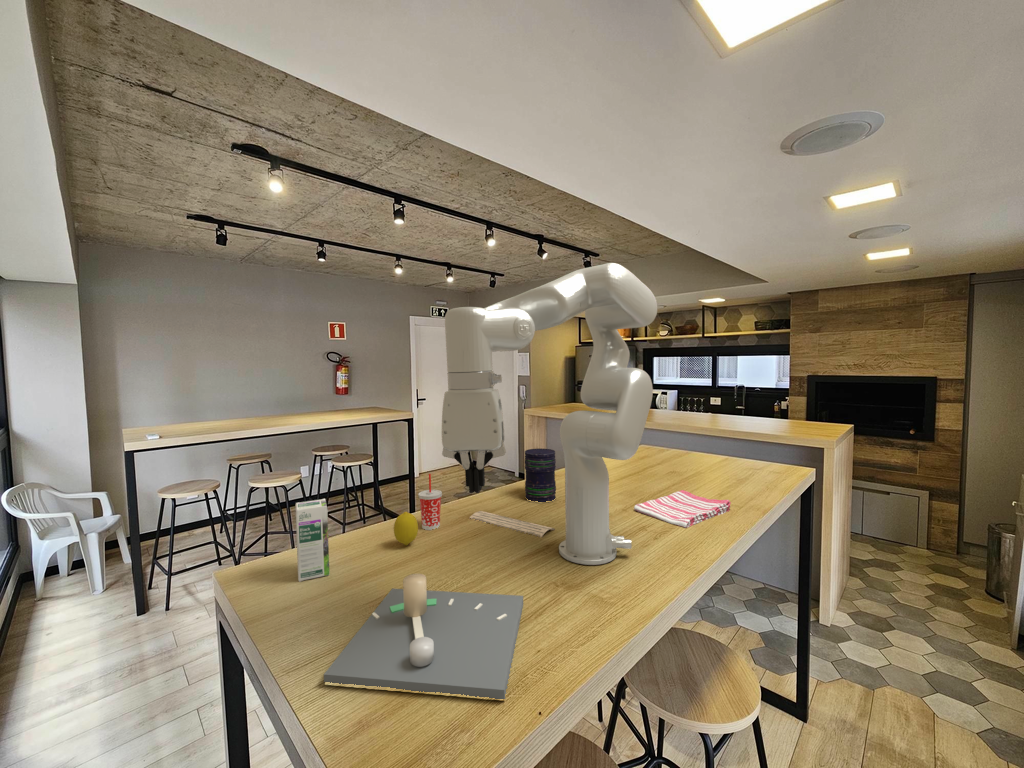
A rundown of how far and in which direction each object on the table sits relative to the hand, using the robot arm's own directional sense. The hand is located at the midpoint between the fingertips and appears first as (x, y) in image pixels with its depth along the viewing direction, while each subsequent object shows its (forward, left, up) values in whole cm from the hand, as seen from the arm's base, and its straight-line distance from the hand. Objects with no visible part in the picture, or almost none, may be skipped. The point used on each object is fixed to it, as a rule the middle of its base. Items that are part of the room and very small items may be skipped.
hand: (475, 490), depth 72 cm
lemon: (+22, -25, -21) cm, 39 cm away
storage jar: (-7, -64, -21) cm, 67 cm away
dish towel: (-48, -56, -22) cm, 76 cm away
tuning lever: (+7, +10, -19) cm, 22 cm away
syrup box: (+36, -10, -21) cm, 43 cm away
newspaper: (0, -41, -22) cm, 46 cm away
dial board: (+4, +8, -21) cm, 23 cm away
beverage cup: (+20, -37, -21) cm, 47 cm away
